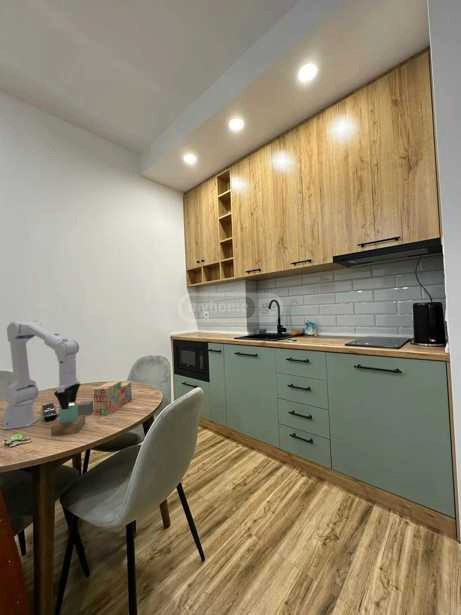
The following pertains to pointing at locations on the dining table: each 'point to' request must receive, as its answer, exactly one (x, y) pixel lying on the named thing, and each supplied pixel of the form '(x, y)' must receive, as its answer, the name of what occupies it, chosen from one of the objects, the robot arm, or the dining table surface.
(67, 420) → the teal cube
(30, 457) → the dining table surface
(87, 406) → the charcoal cube
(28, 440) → the dining table surface
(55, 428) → the walnut block
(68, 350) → the robot arm
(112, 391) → the stack of blocks
